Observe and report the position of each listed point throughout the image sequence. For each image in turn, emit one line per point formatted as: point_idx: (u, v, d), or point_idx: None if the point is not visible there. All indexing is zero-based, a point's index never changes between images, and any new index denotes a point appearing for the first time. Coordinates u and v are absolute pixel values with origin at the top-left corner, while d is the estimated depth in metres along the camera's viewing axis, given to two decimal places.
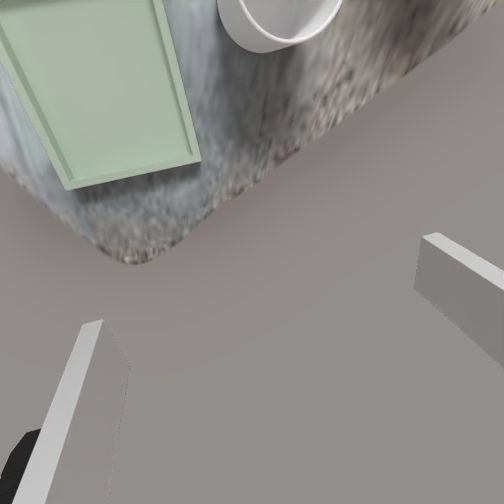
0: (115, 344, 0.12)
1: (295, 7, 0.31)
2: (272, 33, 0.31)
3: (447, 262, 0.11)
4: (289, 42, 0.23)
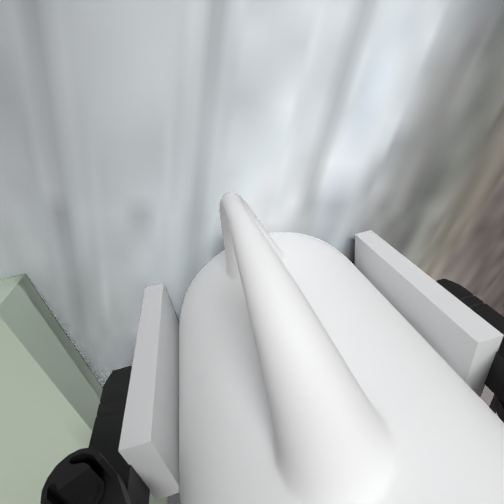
0: (171, 306, 0.13)
1: None
2: None
3: (373, 258, 0.12)
4: None
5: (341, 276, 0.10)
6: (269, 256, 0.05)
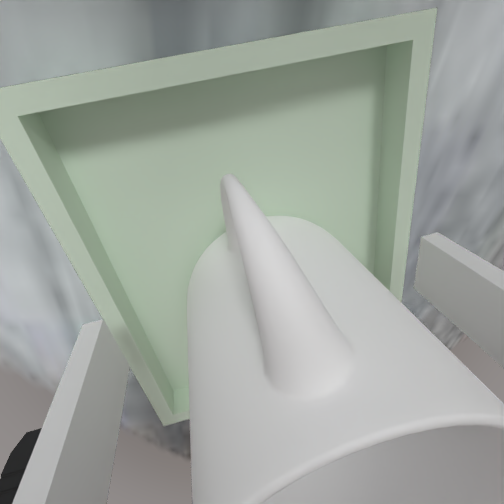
0: (116, 343, 0.12)
1: None
2: None
3: (447, 262, 0.11)
4: None
5: (326, 248, 0.11)
6: (256, 212, 0.07)
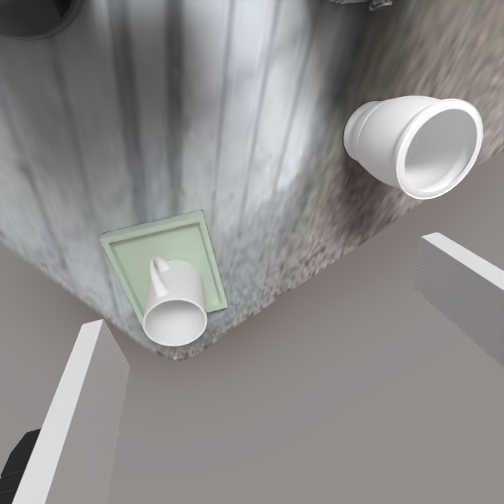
0: (115, 344, 0.12)
1: None
2: None
3: (446, 262, 0.11)
4: (179, 345, 0.44)
5: (180, 271, 0.46)
6: (152, 268, 0.41)
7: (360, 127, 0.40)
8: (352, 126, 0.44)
